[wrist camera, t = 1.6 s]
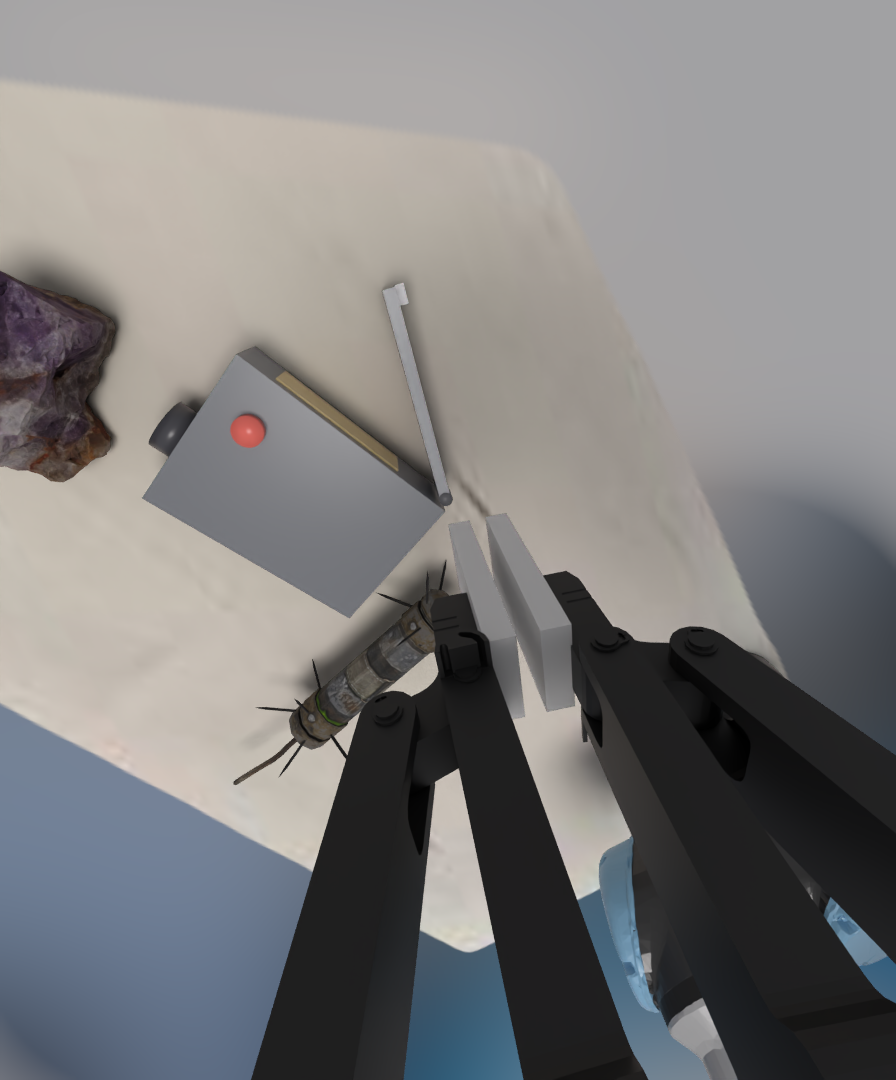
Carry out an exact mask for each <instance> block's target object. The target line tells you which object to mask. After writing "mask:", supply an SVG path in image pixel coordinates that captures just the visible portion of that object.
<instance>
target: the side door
mask: <svg viewBox="0 0 896 1080" xmlns="http://www.w3.org/2000/svg"><path fill="white" fill-rule="evenodd" d="M382 293H383V296H384V300H385V303H386V307H387V311H388V314H389V318H390V321H391V325H392V329H393V332H394V336H395V340H396V343H397V347H398V350H399V354H400V358H401V361H402V365H403V368H404V372H405V376H406V379H407V383H408V387H409V390H410V394H411V397H412V401H413V405H414V408H415V412H416V415H417V419H418V423H419V426H420V430H421V434H422V437H423V441H424V444H425V448H426V452H427V455H428V459H429V462H430V466H431V470H432V473H433V481H434V485H435V488H436V492H437V495H438V498H439V502H440V504H441V505H443V506H448V505H450V504H451V503H452V500H453V499H452V495H451V493H450V490H449V487H448V484H447V481H446V477H445V474H444V470H443V466H442V462H441V458H440V455H439V451H438V447H437V443H436V439H435V436H434V432H433V428H432V424H431V420H430V417H429V413H428V409H427V405H426V402H425V398H424V394H423V390H422V386H421V383H420V379H419V375H418V371H417V367H416V364H415V360H414V356H413V352H412V348H411V345H410V341H409V337H408V333H407V330H406V326H405V322H404V318H403V314H402V311H401V307H400V306H402V305H405V304H409V303H408V299H407V295H406V291H405V287H404V283H401V284H397V285H394V287H393V288H389V289H385V290H382Z"/></svg>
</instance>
